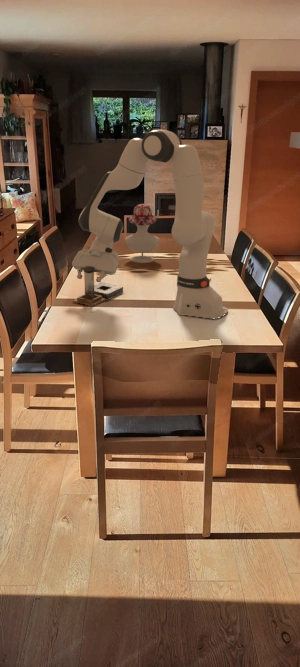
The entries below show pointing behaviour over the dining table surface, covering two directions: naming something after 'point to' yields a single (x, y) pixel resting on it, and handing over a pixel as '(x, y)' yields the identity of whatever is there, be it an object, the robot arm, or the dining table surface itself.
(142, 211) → the beige curvy piece
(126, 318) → the dining table surface
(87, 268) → the lidded glass canister
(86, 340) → the dining table surface
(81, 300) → the square wooden tray
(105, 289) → the socket block
